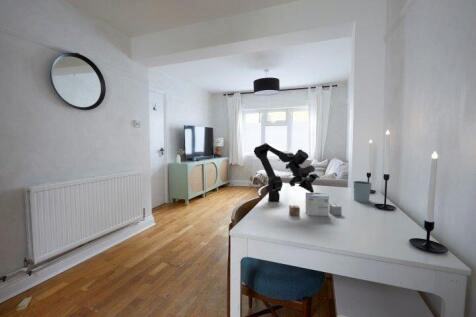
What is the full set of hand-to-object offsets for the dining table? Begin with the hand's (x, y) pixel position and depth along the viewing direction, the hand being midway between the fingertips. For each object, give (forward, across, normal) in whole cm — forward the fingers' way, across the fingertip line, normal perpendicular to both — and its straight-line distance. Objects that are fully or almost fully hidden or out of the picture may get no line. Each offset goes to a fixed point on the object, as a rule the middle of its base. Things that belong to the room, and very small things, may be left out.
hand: (313, 192), depth 115 cm
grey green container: (+11, +46, +5) cm, 48 cm away
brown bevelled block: (+5, -11, +10) cm, 16 cm away
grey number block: (+14, +8, +2) cm, 16 cm away
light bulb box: (+10, 0, +6) cm, 12 cm away
